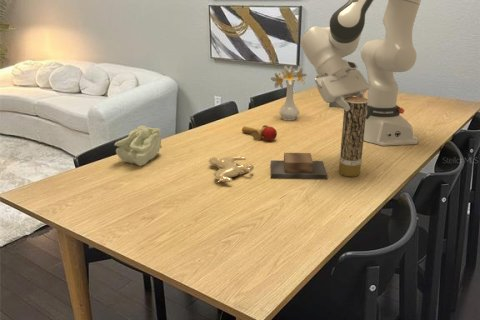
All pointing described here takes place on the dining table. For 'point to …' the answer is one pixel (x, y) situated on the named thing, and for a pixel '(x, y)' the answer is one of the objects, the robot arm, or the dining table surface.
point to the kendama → (261, 132)
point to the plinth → (314, 175)
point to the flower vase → (289, 90)
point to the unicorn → (229, 168)
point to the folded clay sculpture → (139, 145)
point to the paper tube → (353, 137)
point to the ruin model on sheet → (334, 104)
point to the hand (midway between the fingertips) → (357, 107)
